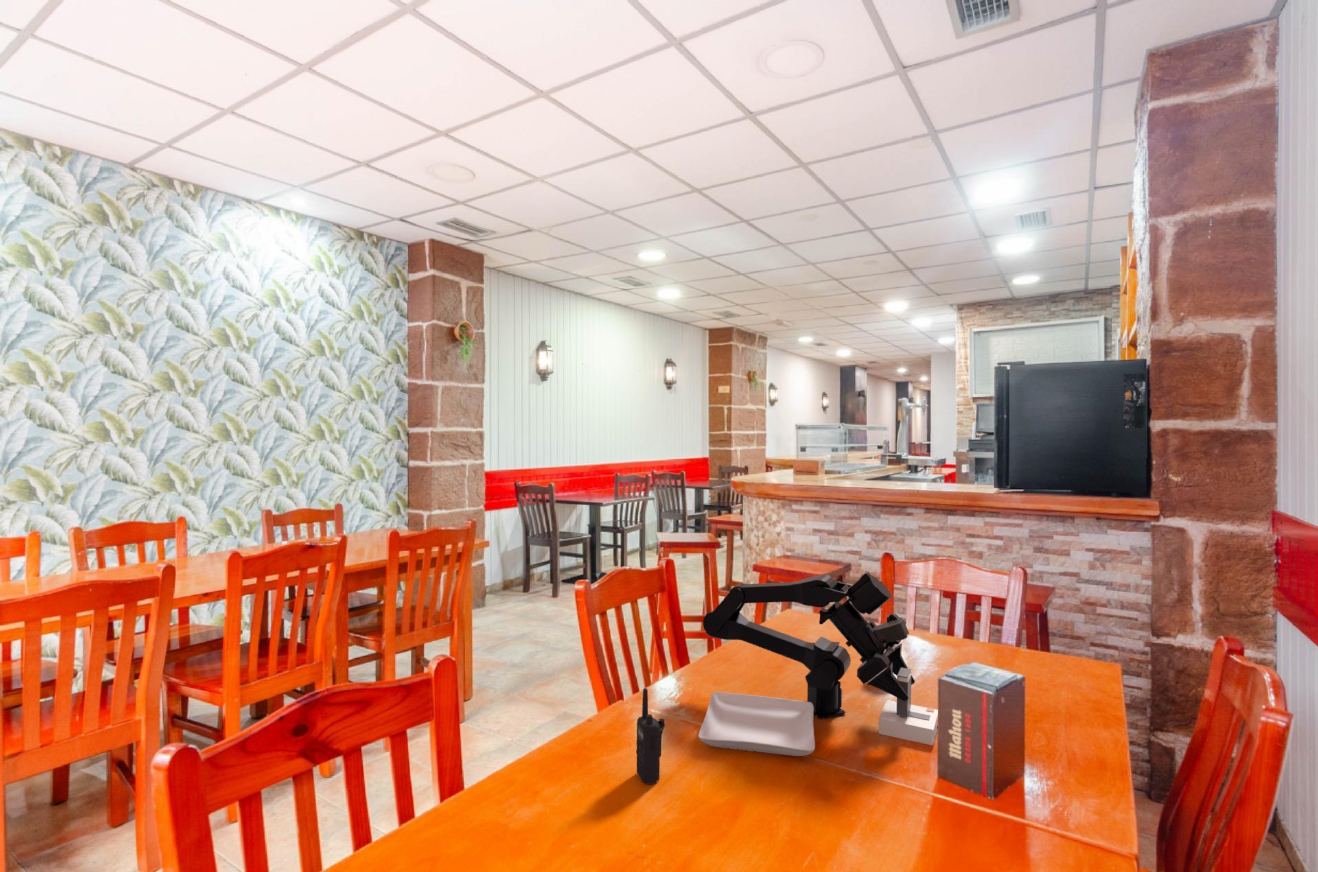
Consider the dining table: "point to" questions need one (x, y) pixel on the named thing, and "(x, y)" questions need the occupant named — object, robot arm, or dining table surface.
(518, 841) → the dining table surface
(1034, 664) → the dining table surface
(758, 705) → the salad plate
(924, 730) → the block
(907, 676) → the breaker toggle
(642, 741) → the two-way radio
